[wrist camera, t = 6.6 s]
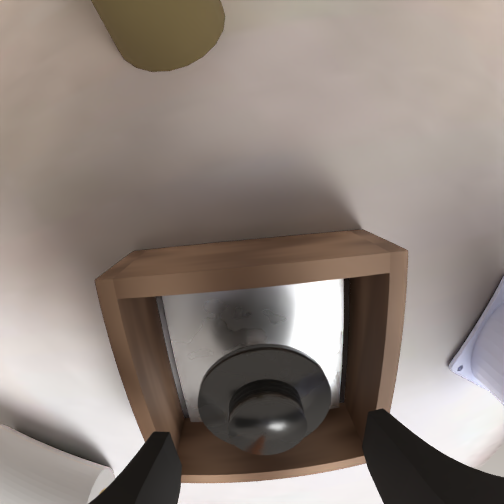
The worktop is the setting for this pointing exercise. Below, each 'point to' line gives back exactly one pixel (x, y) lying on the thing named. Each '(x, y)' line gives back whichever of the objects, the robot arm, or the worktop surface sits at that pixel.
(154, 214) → the worktop surface
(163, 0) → the brown tapered figure
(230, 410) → the plunger
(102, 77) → the worktop surface
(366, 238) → the frame
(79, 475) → the toilet paper
